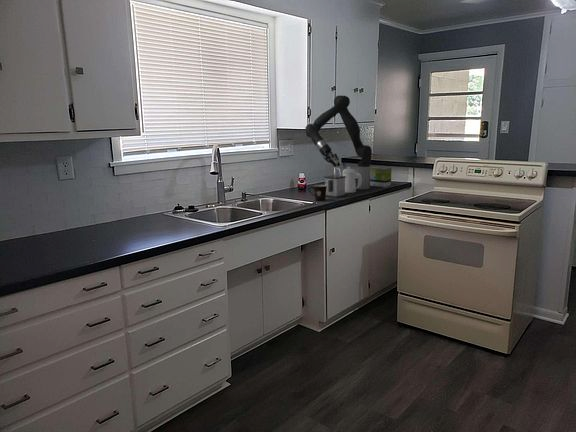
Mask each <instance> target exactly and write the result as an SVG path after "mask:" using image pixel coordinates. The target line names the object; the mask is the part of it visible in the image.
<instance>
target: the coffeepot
mask: <svg viewBox="0 0 576 432" xmlns="http://www.w3.org/2000/svg"><path fill="white" fill-rule="evenodd" d="M336 170H338V171H339V176H346V178H345V194H352V193H353V194H354V193H356V192H357V189H358V187H359V186H360V185H361V183H362V177H361V175H360V174H359V173H358V172H356V171H355V169H354V168H351V166H347V168H344V169H343V170H341V169H340V168H339V167H336ZM341 171H342V173H341ZM358 174H359V175H360V177H359V175H358ZM356 175H357V178H358V177H359V184H360V185H359V184H358V183H357V184H356ZM360 178H361V182H360Z"/></svg>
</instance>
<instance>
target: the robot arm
mask: <svg viewBox="0 0 576 432" xmlns="http://www.w3.org/2000/svg"><path fill="white" fill-rule="evenodd" d="M350 104H351V101H350V97H348V96H347V95H336V96H335V97H334V99H333V106H332V107H330V108H329V109H327V110H326V111H324V112H323V113H321V114H320V115H319V116H318V117H317V118H316V119H315V120H314V121H313V123H312V124H311V123H310V124H307V125H306V126H305V128H304V131H305V134H306V137H308V138H311V141H312V142H313V144H314V146H315V147H316V149H317V150H318V151H319V153H320V154H321V155H322V156H323V157H322V158H323V159H324V160H325V161H326V162H328V163H330V164H331V165H332V166H333V168H334V167H336V168H337V167H340V166H341V163H340V162H339V160H340V159H339V156H338V155H337V153H334V152H333V151H332V147H330V145H329V144H328V143H327V141H326V140H325V139H324V138H323V137H322V136H321V135H320V133H319V131H320V130H321V129H322V128H323V127H324V126H325V125H326V124H327V123H328V122H329V121H330V120H332V119H333V118H334V117H335V116H336V115H338V114H339V115H340V118H341V120H342V122H343V125H344V126H345V127H344V128H345V129H346V132H347V133H348V135H349V138H350V140H351V142H352V144H353V148H354V151H355V153H356V155H357V156H358V157H359V158H361V160H360V161H359V162H357V173H359V174H360V175H361V177H362V183H361V185H360V184H359V177H360V175H359V174H358V175H359V177H358V175H357V185H358V184H359V185H360V186H359V187H358V188H357V189H359V190H369V189H370V188H371V186H370V168H371V164H372V155H373V150H372V147H371V146H370V145H367V144H366V145H365V144H363V142H362V140H361V127H360V126H359V125H360V124H359V123H358V121H357V120H356V118H355V117H354V116H353V114H351V112H350V110H349V108H348V107H349V105H350ZM333 160H337V161H338V165H337V164H336V163H335V162H334V161H333ZM360 182H361V178H360Z"/></svg>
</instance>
